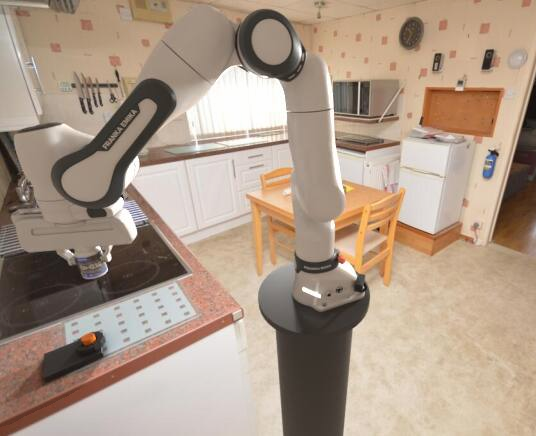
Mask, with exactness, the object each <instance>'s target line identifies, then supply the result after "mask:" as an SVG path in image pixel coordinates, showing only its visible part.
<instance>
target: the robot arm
mask: <svg viewBox="0 0 536 436" xmlns="http://www.w3.org/2000/svg"><path fill="white" fill-rule="evenodd" d="M234 67H238V68H240V69H241V70H243V71H245V72H247V74H250V75H252V76H255V77H257V78H260V79H265V80H267V79H274V80H276V82H277V83H278V84H279V86H280V89H281V91H282V95H283V103H284V113H285V121H286V131H287V138H288V147H289V151H290V156H291V161H292V166H293V168H292V170H291V172H290V178H289V179H290V181H289V182H290V194H291V204H292V205H291V207H292V215H293V223H294V230H295V231H294V236H295V238H294V239H295V240H294V241H295V249H294V253H293V254H294V255H293V261H294V268H295V278H294V282H293V286H292V289H291V293H292V296H293V297H294V299H295V300H296V301H298V302H299V303H301V304H304V305H307V306H310V307H312V308H314V309H315V310H317V311H319V312H323V311H326V310H329V309H332V308H335V307H338V306H341V305H344V304H347V303H350V302H353V301H356V300H359V299H362V298H363V297H364V295H365V291H366V290H367V285H368V284H367V285H366V283H367V282H366V283H365V281H366V274H364V273H359V272H358V275H357V274H356V272H355V271H356V269H355V268H354V267H353V265H352V264H351V263H350V262H349V261H347V260H346V258H345V256H344V255H343V254H341V251H340V250H339V248H337V246H336V244H335V242H336V241H335V239H336V238H335V237H336V226H335V220H336V219H339V218H340V216H342V215H343V213H344V211H345V209H346V206H347V197H346V194H345V190H344V185H343V180H342V173H341V166H340V160H339V156H338V152H337V151H338V150H337V146H336V132H335V113H334V112H335V109H334V96H333V88H332V87H333V86H332V82H331V76H330V71H329V67H328V64H327V62H326V61H325V59H324V58H323V57H321V56H320V55H318V54H316V53H313V52H307V49H306V47H305V46H304V44H303V42H302V41H301V39H300V37H299V35H298V33H297V31H296V29H295V27H294V25H293V24H292V23H291V22H290V20H289V19H288V18H287V17H286V16H285V15H284V14H282V13H281V12H279V11H277V10H275V9H270V8H259V9H256V10H254V11H251V13H249V14H248V15H246V16H245V18H244V19H243V21H242V22H235V21H232V20H231V19H229V18H228V17H227V15H225V14H224V13H223V12H222V11H221V10H220V9H218V8H217V7H215V6H213V5H210V4H209V3H208V4H207V3H197V4H195V5H193V6H192V7H191V8H189V9H188V10H187V11H186V12H184V13H183V15H181V16H180V17H179V18H178V19H176V20H175V22H174V23H173V24H172V25H171V26H170V27H169V28H168V29H167V30H166V31H165V32H164V34H163V35H162V36H161V38H160V39H159V40H158V41H157V42H156V45H155V46H154V47H153V49H152V50H151V52H150V54H149V55H148V57H147V59H146V60H145V62H144V64H143V65H142V68H141V70H140V72H139V74H138V76H137V78H136V80H135V82H134V83H133V85H132V87H131V89H130V91H129V93H128V94H127V96H126V98H125V100H124V101H123V102H122V103H121V104H120V106H119V107H118V109H117V110H115V112H114V113H113V115H111V117H110V118H109V120H108V121H107V122H106V123H105V125H103V127H102V128H101V129H100V130H99V132H98V133H97V134H96V135H91V134H88V133H84V132H82V131H79V130H77V129H74V128H72V127H71V126H69V125H68V124H66V123H63V122H45V123H40V124H36V125H33V126H27V127H24V128H22V129H19V130H18V131H17V132H16V133H15V134H14V136H13V144H14V149H15V153H16V156H17V159H18V162H19V165H20V167H21V170H22V173H23V174H24V176H25V178H26V179H27V180H28V181H29V183H30V184H31V186H32V188H33V198H34V199H35V202H36V204H37V207H33V208H32V207H31V208H18V209H16V211H13V212H12V214H11V216H10V219H11V222H12V225H14V227H15V232H16V236H17V239H18V242H19V245H20V247H21V249H22V250H23V251H26V252H27V253H41V252H50V251H52V252H53V251H56V254H57V255H58V256H60V257H61V258H63V259H64V260H65V261H67V264H68V266H70V267H71V266H78V264H77V261H76V259H75V257H74V253H73V252H71V250H74V249H75V248H76V247H79V246H84V247H86V248H88V247H100V248H101V250H102V255H100V256H99V258H100V260H101V262H106V263H109V262H111V260H112V254H111V252H112V249H113V246H122V245H131V244H132V243H133V242H134V240H136V237H137V236H138V230H137V226H136V223H135V221H134V219H133V216H132V214H131V213H130V212H129V210H128V209H126V208H124V205H125V201H124V199H123V198H122V195H123V193H124V191H125V190H126V189H127V188H128V186H129V185H130V184H131V183H132V182H133V180H134V179H135V177H136V176H137V175H138V173H139V171H140V168H141V163H140V158H139V155H140V154H141V152H142V151H143V150H144V149H145V148H146V146H147V145H148V144H149V142H150V141H151V140H152V139H153V137H155V136H156V134H157V133H158V132H159V131H160V130H161V129H163V128H164V127H165V126H166V125H167V124H169V123H170V122H172V121H174V120H175V119H176V118H178V117H179V116H181V115H183V114H184V113H186V112H187V111H189V110H190V109H192V108H193V107H194V106H196V104H198V103H200V101H201V100H203V99H204V98H205V96H207V95H208V94H209V93H210V91H211V90H212V89H213V88H214V86H215V85H216V84H217V82H219V80H220V79H221V77H223V75H224V74H225V73H226V72H227V71H229V70H230V69H232V68H234Z"/></svg>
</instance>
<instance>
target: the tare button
mask: <svg viewBox="0 0 536 436" xmlns="http://www.w3.org/2000/svg"><path fill="white" fill-rule="evenodd" d="M82 336H83V337H82ZM82 336H81V337H82V338H81V337H80V338H81V341H82V343H83V345H84V346H88V345H90V344H92V343H94V342H95V341H96V337H95V335H94V333H91V332H87V333H85V334H84V335H82Z"/></svg>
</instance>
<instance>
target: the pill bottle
mask: <svg viewBox="0 0 536 436" xmlns="http://www.w3.org/2000/svg"><path fill="white" fill-rule="evenodd" d="M73 250H74V253H73V254H74V257H75V259H76V261H77V264H78V265H77V266H78V269H79V271H80V274H81V276H82V278H83V279H85V280H94V279H97V278H100V277H102V276H104V275H106V274H107V272H108V270H109V269H108V264H107V262H101V260H100V258H99V256H100V255H102V253H103V250H102V247H101V246H100V247H88V248H86V247H84V246H79V247H76V248H75V249H73Z"/></svg>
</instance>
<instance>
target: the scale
mask: <svg viewBox="0 0 536 436" xmlns="http://www.w3.org/2000/svg"><path fill="white" fill-rule="evenodd" d="M90 333H94V335H95V337H96V341H95V342H94V343H92V344H90V345H88V346H84V345H83V343H82V341H81V338H82V337H83V336H84V335H81V336H80V338H78V339H77V340H75V341H73V342H71V343H67V344H65V345H63V346H60V347H58V348H55V349H53V350H51V351H48V352H46V353H45V352H44V353H43V371H42V379H43V381H44V382H45V383H48V382H50V381H53V380H55V379H57V378H59V377H62V376H63V375H65V374H68V373H70V372H73V371H75V370H77V369H79V368H82V367H84V366H87V365H88V364H90V363H93V362H95V361H98V360H100V359H102V358H104V357H105V354H104V345H105V343H106V341H107V339H106V336H105V334H104V333H103V332H102V331H99V330H96V331H91V332H90Z"/></svg>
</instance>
